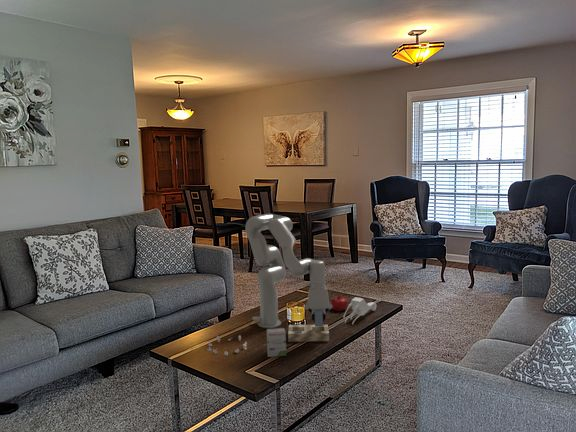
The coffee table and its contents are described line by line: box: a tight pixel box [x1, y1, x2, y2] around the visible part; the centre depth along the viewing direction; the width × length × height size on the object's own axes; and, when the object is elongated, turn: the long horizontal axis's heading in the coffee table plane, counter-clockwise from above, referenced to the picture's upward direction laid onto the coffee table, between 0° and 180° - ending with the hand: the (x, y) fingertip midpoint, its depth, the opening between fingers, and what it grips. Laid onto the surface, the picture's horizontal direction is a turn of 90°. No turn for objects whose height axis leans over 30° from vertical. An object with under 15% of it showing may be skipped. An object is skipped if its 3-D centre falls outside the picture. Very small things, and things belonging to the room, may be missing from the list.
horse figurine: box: [342, 296, 378, 325], centre depth 258 cm, size 6×18×28 cm
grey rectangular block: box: [314, 309, 324, 327], centre depth 230 cm, size 4×4×8 cm
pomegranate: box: [330, 294, 349, 312], centre depth 272 cm, size 10×10×9 cm
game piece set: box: [207, 334, 248, 356], centre depth 221 cm, size 19×20×4 cm
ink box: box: [266, 327, 287, 358], centre depth 211 cm, size 9×5×12 cm, turn 96°
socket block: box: [287, 324, 330, 342], centre depth 231 cm, size 20×12×4 cm, turn 88°
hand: (318, 320), depth 230 cm, fingers closed on grey rectangular block, 4 cm apart
